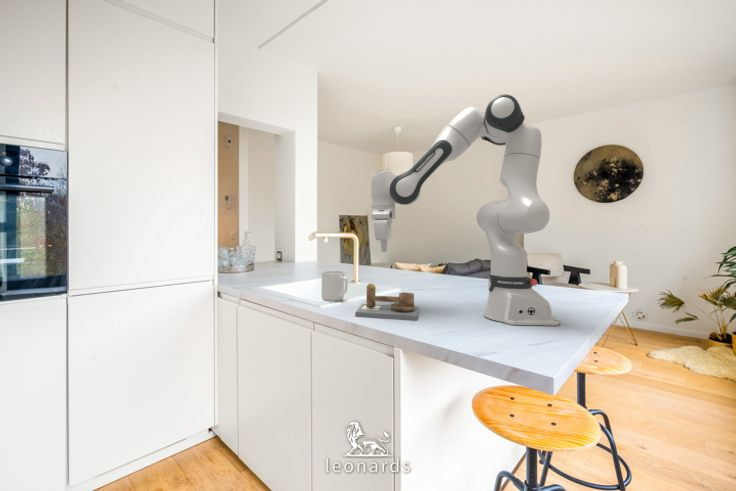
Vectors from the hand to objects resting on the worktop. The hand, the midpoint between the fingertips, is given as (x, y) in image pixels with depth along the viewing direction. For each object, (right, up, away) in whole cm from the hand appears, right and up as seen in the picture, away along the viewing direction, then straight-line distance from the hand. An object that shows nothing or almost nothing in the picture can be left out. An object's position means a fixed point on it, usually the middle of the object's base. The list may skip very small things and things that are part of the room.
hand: (384, 251), depth 129 cm
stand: (+1, -21, -12) cm, 24 cm away
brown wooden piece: (+1, -19, -12) cm, 23 cm away
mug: (-19, -20, +8) cm, 29 cm away
